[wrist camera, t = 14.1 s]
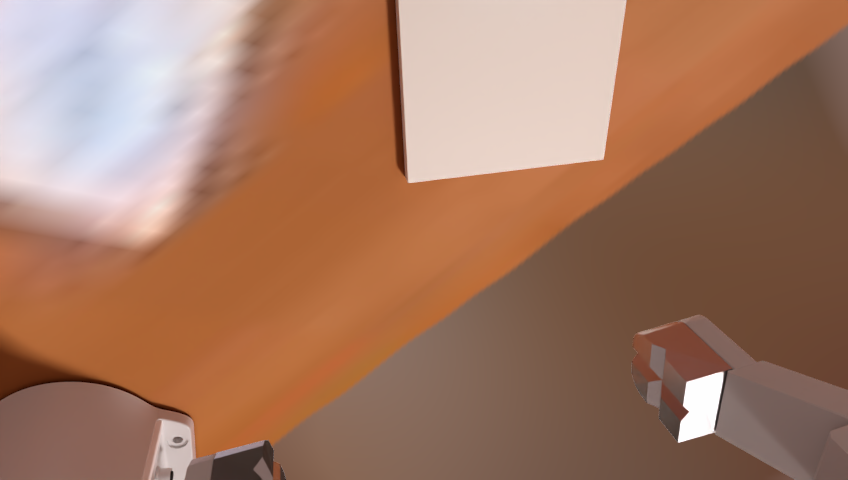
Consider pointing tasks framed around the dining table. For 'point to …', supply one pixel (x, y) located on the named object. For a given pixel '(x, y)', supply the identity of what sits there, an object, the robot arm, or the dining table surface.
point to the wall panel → (505, 83)
